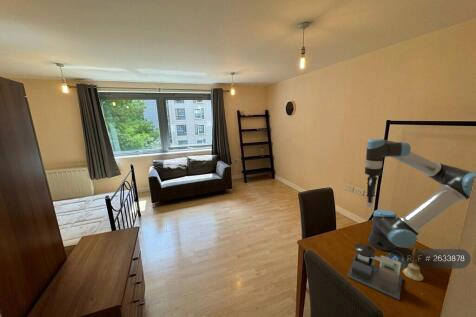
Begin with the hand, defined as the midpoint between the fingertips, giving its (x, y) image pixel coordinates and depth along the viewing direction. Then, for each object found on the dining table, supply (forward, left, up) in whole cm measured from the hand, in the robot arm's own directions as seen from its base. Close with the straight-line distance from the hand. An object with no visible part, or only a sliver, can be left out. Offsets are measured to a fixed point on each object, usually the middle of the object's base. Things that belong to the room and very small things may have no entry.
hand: (369, 206), depth 114 cm
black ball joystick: (+7, +15, -27) cm, 31 cm away
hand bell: (-15, +16, -33) cm, 39 cm away
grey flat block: (+3, +21, -23) cm, 31 cm away
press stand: (+6, +16, -32) cm, 37 cm away
